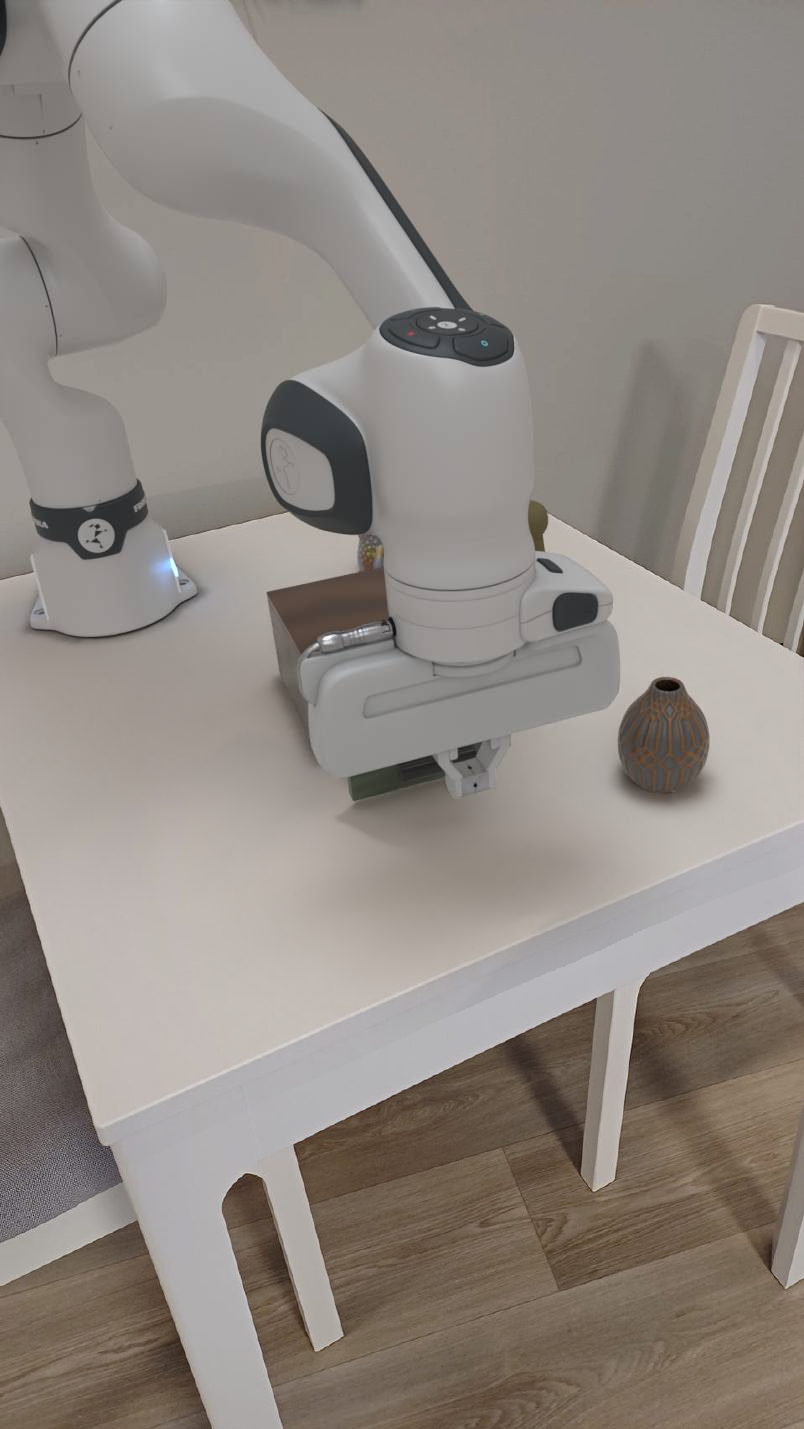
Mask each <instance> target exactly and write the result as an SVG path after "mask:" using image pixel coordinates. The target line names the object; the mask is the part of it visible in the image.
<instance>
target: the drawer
mask: <svg viewBox="0 0 804 1429" xmlns="http://www.w3.org/2000/svg"><path fill="white" fill-rule="evenodd" d="M482 742H483V741H482ZM482 742H478V743H475V744H471V745H467V746H463V747H460V748H458V758H457V759H455V760H451V761H452V762H453V763H457V762H462V761H466V760H469V759H472V758H476V755H477V753H478V751H479V749H480V746H481V744H482ZM442 778H446V777H445V771H444V770H443V769H442V768H441V767H440V766H439V765H438V763H437V762H436V760H435V759H434V757H433V756H432V755H429V756H426V757H422V758H418V759H414V760H411V761H407V762H403V763H399V764H396V765H392V766H388V767H384V768H381V769H377V770H373V771H369V772H366V773H362V774H358V775H354V776H351V777H347V778H346V780H347V781H346V782H347V788H348V794H349V796H350V798H351V800H352V801H353V802H358V801H361V800H365V799H368V798H373V797H376V796H379V795H383V794H387V793H390V792H395V791H398V790H401V789H406V788H409V787H413V786H416V785H420V784H424V783H427V782H431V781H435V780H439V779H442Z"/></svg>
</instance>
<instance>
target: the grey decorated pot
mask: <svg viewBox="0 0 804 1429" xmlns="http://www.w3.org/2000/svg"><path fill="white" fill-rule="evenodd" d="M357 537H358V538H359V539H358V544H357V551H356V562H357V565H358V569H359V572H361V571H366V570H371V569H375V568H380V567H384V564H383V561H384V546H383V544H382V542H381V540H380V539H379V538H378V537H377V536H375V535H373V534H370V533H364V534H360V535H357Z"/></svg>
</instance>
